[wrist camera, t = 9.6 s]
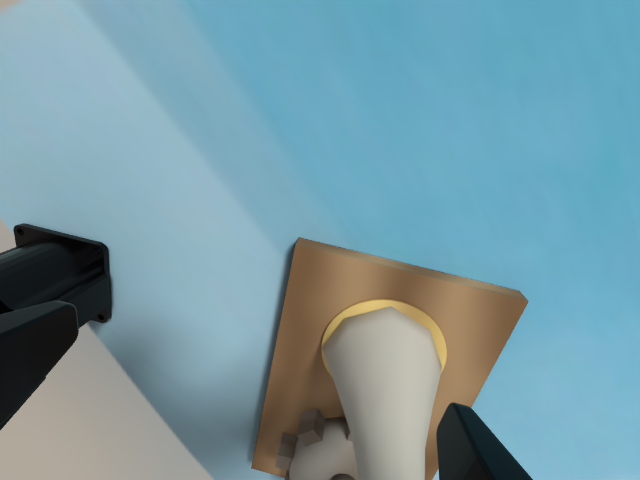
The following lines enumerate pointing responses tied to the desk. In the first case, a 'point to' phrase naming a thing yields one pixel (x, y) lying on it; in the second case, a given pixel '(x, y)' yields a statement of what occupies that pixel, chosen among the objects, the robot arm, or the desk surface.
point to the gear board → (353, 299)
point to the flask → (385, 390)
